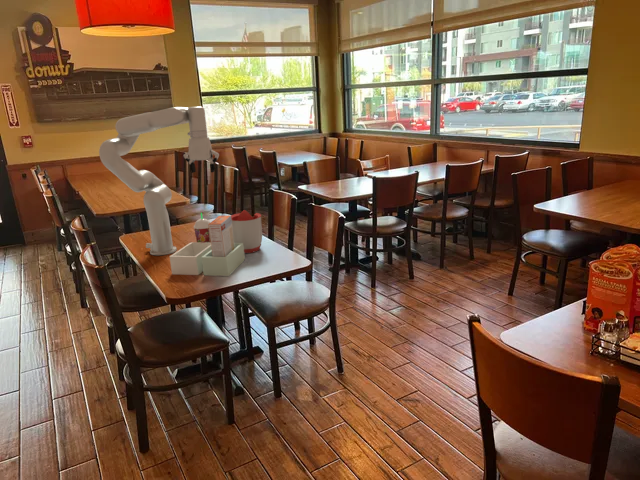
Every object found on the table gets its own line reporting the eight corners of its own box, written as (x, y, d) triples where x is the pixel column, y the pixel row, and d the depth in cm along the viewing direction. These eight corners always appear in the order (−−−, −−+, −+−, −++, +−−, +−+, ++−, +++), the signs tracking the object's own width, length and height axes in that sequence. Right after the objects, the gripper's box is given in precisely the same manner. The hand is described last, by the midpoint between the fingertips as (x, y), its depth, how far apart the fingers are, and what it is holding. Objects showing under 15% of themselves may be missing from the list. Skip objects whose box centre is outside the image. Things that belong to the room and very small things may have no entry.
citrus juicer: (270, 244, 233) (267, 205, 227) (256, 256, 217) (252, 214, 211) (241, 243, 237) (237, 205, 232) (225, 254, 221) (221, 213, 216)
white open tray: (172, 274, 199) (169, 256, 196) (193, 258, 218) (190, 242, 215) (198, 275, 196) (195, 257, 194) (217, 259, 215) (215, 242, 213)
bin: (203, 275, 196) (201, 257, 194) (222, 259, 215) (220, 242, 212) (228, 275, 194) (226, 257, 191) (244, 259, 213) (243, 243, 210)
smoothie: (218, 251, 226) (214, 211, 221) (207, 256, 219) (202, 215, 213) (204, 249, 230) (199, 210, 224) (193, 255, 223) (188, 214, 217)
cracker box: (223, 260, 210) (218, 215, 204) (236, 260, 210) (232, 214, 204) (213, 271, 197) (207, 223, 191) (227, 271, 196) (221, 223, 190)
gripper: (177, 136, 211) (182, 173, 216) (213, 134, 208) (217, 173, 213) (185, 134, 218) (189, 171, 223) (219, 133, 215) (223, 170, 220)
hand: (203, 172), depth 218 cm, fingers open, 9 cm apart
